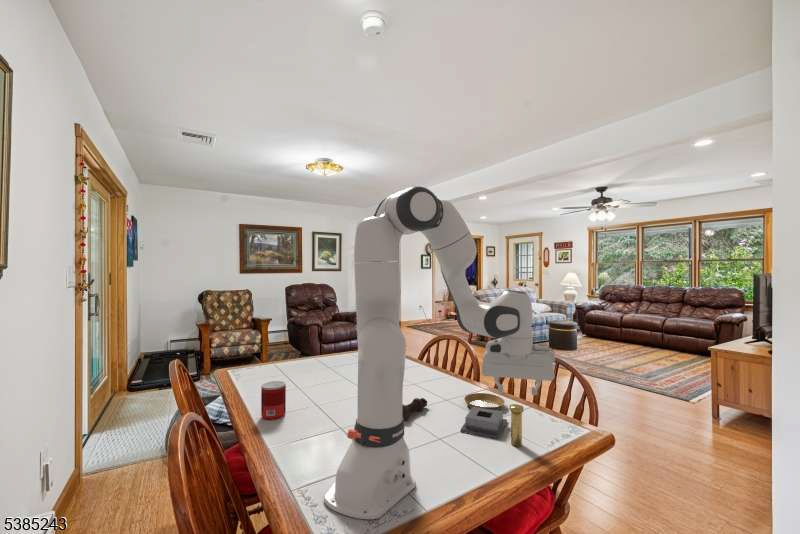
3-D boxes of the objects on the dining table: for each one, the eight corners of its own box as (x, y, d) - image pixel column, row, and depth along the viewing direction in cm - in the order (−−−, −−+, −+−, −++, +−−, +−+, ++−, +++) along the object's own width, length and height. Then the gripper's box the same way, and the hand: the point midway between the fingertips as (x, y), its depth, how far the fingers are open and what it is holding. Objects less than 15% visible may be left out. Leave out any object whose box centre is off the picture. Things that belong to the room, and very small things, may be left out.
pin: (522, 448, 104) (522, 410, 104) (508, 446, 106) (508, 408, 106) (524, 442, 108) (524, 405, 108) (510, 440, 110) (510, 403, 110)
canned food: (289, 415, 127) (289, 384, 127) (268, 422, 121) (268, 389, 121) (278, 409, 132) (278, 379, 132) (257, 416, 127) (257, 384, 127)
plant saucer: (513, 411, 132) (513, 404, 132) (477, 416, 127) (477, 409, 127) (489, 397, 146) (489, 391, 146) (457, 402, 141) (457, 395, 141)
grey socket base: (499, 439, 110) (499, 426, 110) (460, 431, 115) (460, 419, 115) (507, 421, 123) (507, 409, 123) (471, 415, 128) (471, 404, 128)
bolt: (425, 412, 135) (402, 425, 123) (416, 403, 138) (392, 414, 126) (432, 400, 134) (409, 412, 122) (422, 391, 136) (399, 401, 124)
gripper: (553, 345, 107) (554, 392, 107) (482, 341, 113) (482, 386, 113) (556, 350, 101) (557, 400, 101) (480, 346, 107) (481, 393, 107)
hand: (517, 392), depth 107 cm, fingers open, 8 cm apart
